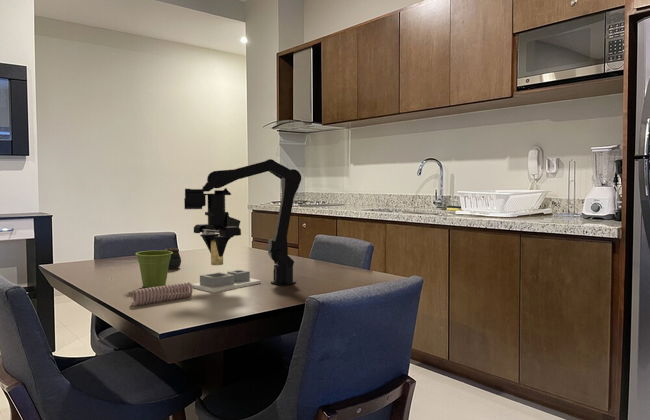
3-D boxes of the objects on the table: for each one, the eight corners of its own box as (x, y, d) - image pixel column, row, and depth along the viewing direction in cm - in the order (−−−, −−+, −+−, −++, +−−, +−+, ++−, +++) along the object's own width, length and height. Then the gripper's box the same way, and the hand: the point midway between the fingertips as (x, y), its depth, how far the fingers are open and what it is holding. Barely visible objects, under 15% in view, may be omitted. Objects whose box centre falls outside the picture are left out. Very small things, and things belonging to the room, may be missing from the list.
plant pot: (134, 290, 157) (133, 255, 156) (137, 283, 168) (137, 250, 168) (172, 288, 160) (172, 254, 159) (173, 281, 171) (173, 249, 171)
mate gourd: (183, 267, 202) (183, 242, 201) (178, 270, 194) (178, 245, 194) (165, 267, 201) (165, 242, 201) (160, 270, 194) (159, 245, 193)
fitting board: (261, 283, 169) (260, 271, 169) (212, 292, 154) (212, 280, 154) (239, 278, 177) (239, 267, 177) (191, 287, 162) (191, 275, 162)
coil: (188, 281, 151) (128, 289, 139) (194, 282, 148) (134, 290, 136) (188, 296, 151) (129, 305, 139) (195, 297, 147) (135, 307, 136)
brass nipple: (225, 264, 162) (225, 240, 162) (215, 265, 159) (215, 241, 159) (218, 263, 165) (218, 239, 164) (208, 264, 162) (208, 240, 162)
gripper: (253, 209, 161) (254, 256, 162) (219, 207, 173) (220, 250, 174) (226, 210, 153) (226, 259, 153) (192, 208, 165) (193, 254, 166)
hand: (217, 255), depth 162 cm, fingers closed on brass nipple, 4 cm apart
